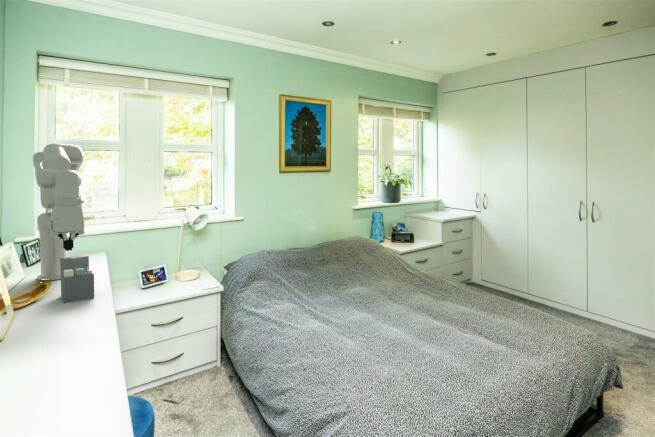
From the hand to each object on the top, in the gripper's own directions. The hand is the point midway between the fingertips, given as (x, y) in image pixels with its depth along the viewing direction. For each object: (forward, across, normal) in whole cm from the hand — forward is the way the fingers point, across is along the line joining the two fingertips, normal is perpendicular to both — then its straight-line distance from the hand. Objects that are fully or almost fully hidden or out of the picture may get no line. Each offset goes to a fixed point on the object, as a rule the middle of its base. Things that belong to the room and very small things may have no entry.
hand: (68, 250), depth 143 cm
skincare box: (+20, -5, -10) cm, 23 cm away
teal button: (+11, -4, -1) cm, 12 cm away
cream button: (+11, 0, -1) cm, 11 cm away
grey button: (+10, -7, 0) cm, 12 cm away
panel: (+20, -3, -1) cm, 20 cm away
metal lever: (+10, -7, -2) cm, 12 cm away
